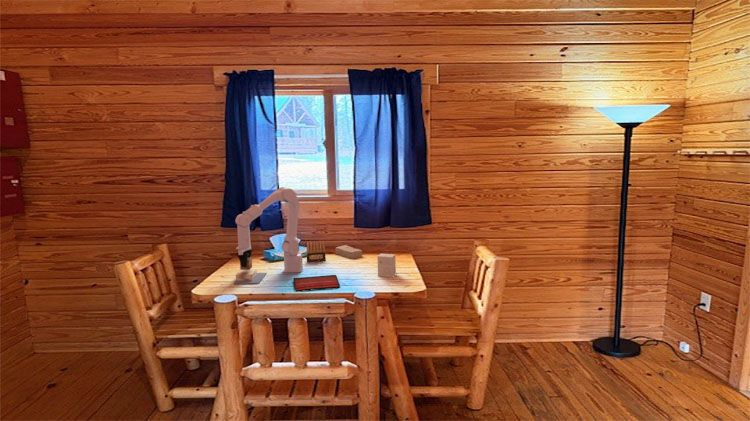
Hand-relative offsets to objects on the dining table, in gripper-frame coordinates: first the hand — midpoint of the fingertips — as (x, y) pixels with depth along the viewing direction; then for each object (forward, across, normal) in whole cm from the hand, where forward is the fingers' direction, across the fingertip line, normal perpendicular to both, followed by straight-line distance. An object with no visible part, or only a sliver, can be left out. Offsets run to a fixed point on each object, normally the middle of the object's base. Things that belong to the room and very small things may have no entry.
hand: (245, 265), depth 206 cm
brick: (+7, -43, +49) cm, 66 cm away
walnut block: (+2, 0, 0) cm, 2 cm away
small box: (+7, -2, +70) cm, 70 cm away
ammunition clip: (+7, -31, +31) cm, 44 cm away
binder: (+8, +10, +36) cm, 38 cm away
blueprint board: (+7, 0, +2) cm, 7 cm away
